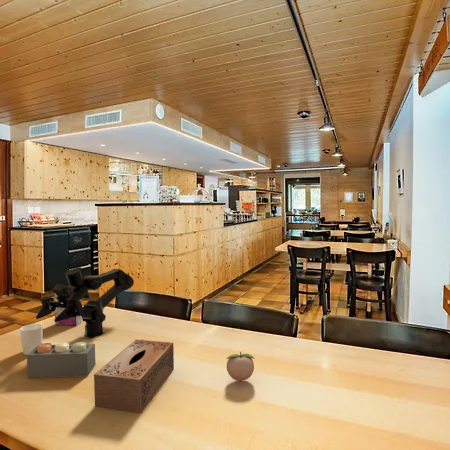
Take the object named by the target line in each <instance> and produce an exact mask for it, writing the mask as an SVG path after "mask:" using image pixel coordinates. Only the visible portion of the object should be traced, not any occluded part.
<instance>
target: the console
mask: <svg viewBox="0 0 450 450" xmlns="http://www.w3.org/2000/svg"><path fill="white" fill-rule="evenodd" d="M73 344H74V343H72V344H71V343H69V350H68V351H67V352H55V345H56V344H51V345H52V350H51V351H50V352H49V353H37V347H36V348H35V349H33V350H32V351H31V352H30V353H29V354H27V355H26V366H27V367H26V368H27V379H37V378H66V377H67V378H69V377H73V378H74V377H88V376H89V375H90V374H91V373H92V371H93V369H94V368H95V366H96V343H86V350H85V351H84V352H73Z"/></svg>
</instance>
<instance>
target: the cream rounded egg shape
mask: <svg viewBox="0 0 450 450" xmlns="http://www.w3.org/2000/svg"><path fill="white" fill-rule="evenodd" d="M69 344H70V343H69V342H66V341H65V342H59V343H56V344H54V345H55V352H67V351H68V350H69Z"/></svg>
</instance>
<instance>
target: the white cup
mask: <svg viewBox="0 0 450 450" xmlns="http://www.w3.org/2000/svg"><path fill="white" fill-rule="evenodd" d="M43 327H44V326H43V324H42V323H30V324H26V325H23V326H21V327H20V328H19V332H20V342H21V348H22V349H21V351H22V354H23V355H26V356H27V354H29V353H30V352H31V351H32V350H33V349H35V348H36V347H37V346H38V345H40V344H43V342H44V341H43V338H44V336H43V332H44V331H43V330H44V329H43Z"/></svg>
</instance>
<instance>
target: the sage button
mask: <svg viewBox="0 0 450 450" xmlns="http://www.w3.org/2000/svg"><path fill="white" fill-rule="evenodd" d="M72 344H73V352H84V351H85V350H86V344H87V342H86V341H85V342H84V341H79V342H78V341H77V342H76V343H72Z"/></svg>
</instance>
